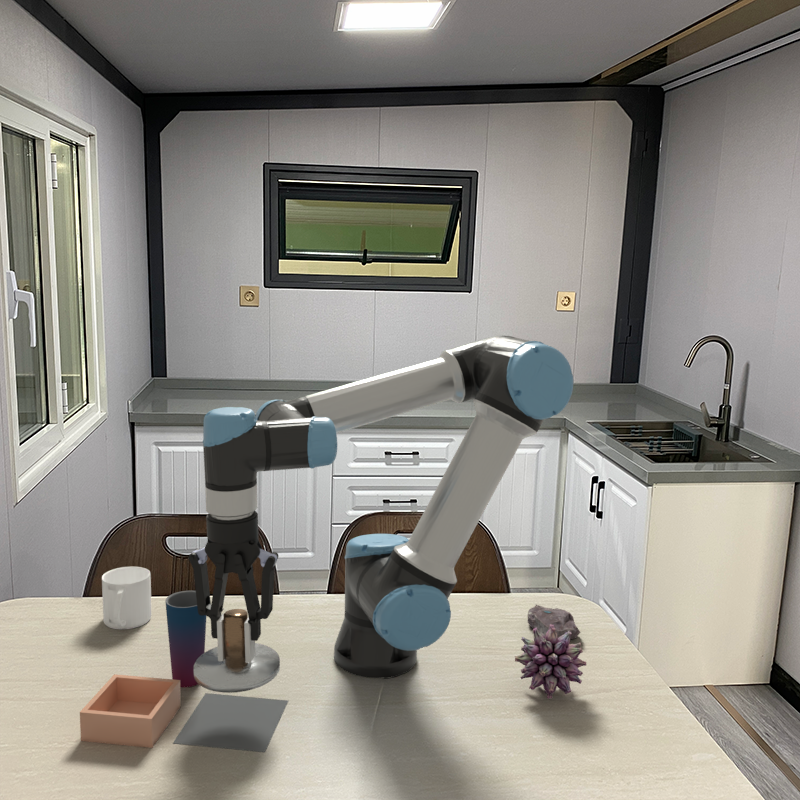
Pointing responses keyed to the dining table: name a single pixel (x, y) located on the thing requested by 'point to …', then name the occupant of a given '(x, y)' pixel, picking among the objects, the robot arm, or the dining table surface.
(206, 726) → the mat
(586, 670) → the dining table surface
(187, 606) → the cup
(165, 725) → the dish
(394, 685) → the dining table surface
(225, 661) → the lid
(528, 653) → the flower
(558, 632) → the rock
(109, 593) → the mug
